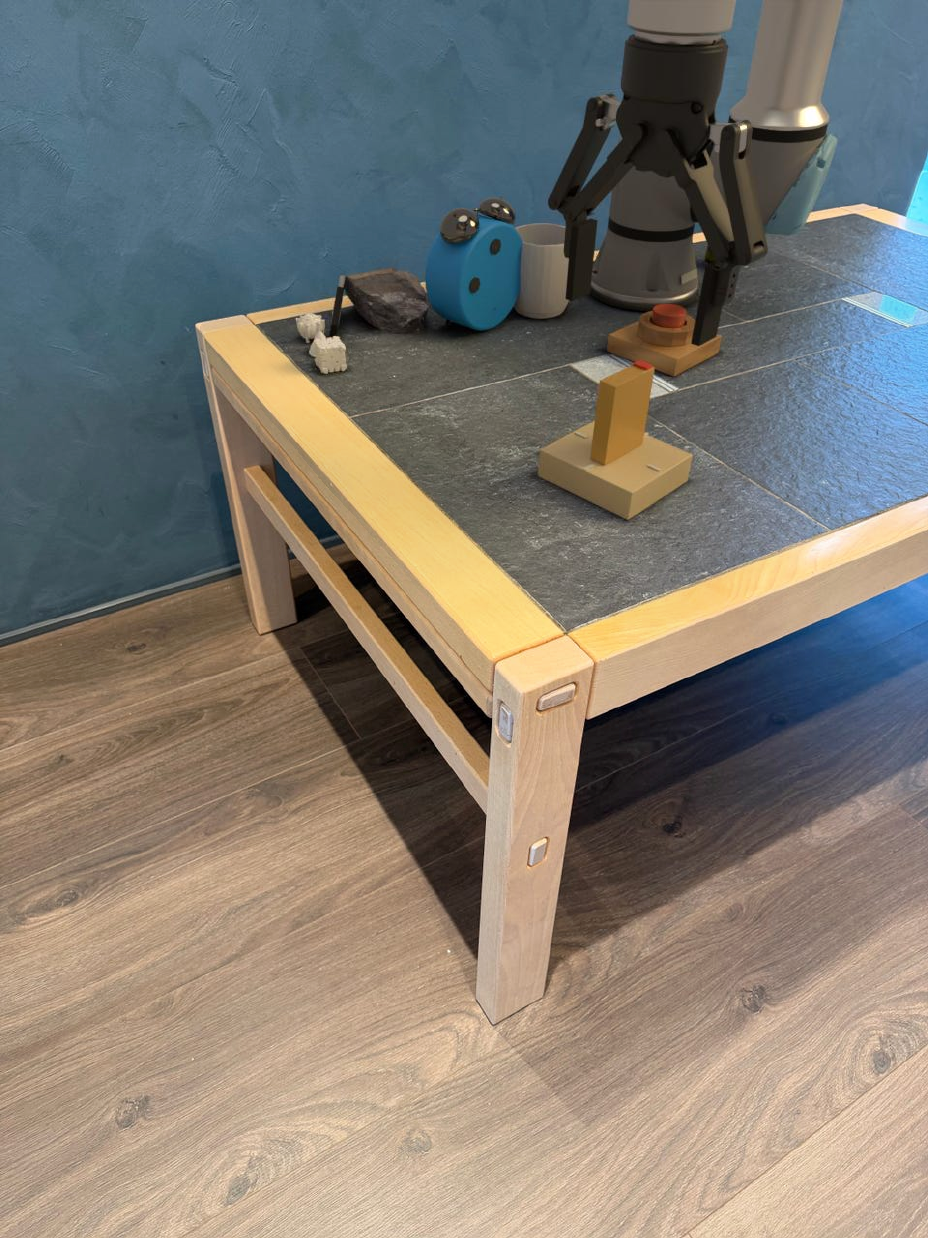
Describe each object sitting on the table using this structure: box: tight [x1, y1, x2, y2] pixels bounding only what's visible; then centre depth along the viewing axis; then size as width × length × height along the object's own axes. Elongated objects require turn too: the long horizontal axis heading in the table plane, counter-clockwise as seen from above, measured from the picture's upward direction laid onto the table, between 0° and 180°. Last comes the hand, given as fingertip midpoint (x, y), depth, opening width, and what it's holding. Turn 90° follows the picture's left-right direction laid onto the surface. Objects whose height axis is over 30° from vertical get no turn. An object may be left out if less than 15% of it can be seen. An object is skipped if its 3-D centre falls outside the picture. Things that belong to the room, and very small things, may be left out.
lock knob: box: [590, 360, 655, 465], centre depth 85 cm, size 6×2×8 cm, turn 135°
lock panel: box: [537, 420, 694, 521], centre depth 88 cm, size 11×10×3 cm
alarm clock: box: [424, 196, 523, 332], centre depth 114 cm, size 13×6×15 cm, turn 138°
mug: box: [513, 222, 570, 320], centre depth 120 cm, size 13×9×10 cm
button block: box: [606, 311, 723, 377], centre depth 112 cm, size 10×10×4 cm
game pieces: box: [295, 312, 348, 375], centre depth 110 cm, size 12×3×3 cm, turn 22°
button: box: [651, 304, 687, 329], centre depth 110 cm, size 4×4×2 cm
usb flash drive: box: [328, 274, 346, 338], centre depth 116 cm, size 9×5×1 cm
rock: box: [343, 267, 430, 335], centre depth 118 cm, size 14×11×5 cm
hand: (637, 317), depth 80 cm, fingers open, 13 cm apart
